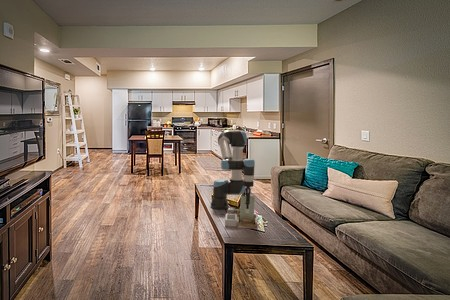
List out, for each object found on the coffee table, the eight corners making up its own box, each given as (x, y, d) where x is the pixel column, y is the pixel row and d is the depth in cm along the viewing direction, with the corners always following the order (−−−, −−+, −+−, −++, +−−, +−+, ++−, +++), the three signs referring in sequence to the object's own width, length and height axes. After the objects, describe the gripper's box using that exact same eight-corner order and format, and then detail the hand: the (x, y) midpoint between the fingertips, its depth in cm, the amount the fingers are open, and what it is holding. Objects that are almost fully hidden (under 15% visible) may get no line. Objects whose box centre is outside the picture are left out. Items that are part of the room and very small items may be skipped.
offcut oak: (242, 219, 239) (242, 217, 239) (251, 219, 239) (251, 217, 239) (242, 221, 235) (243, 219, 235) (251, 221, 236) (251, 219, 235)
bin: (225, 220, 249) (225, 213, 248) (236, 220, 248) (237, 214, 248) (224, 226, 235) (225, 219, 234) (236, 227, 234) (236, 220, 234)
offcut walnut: (239, 222, 239) (240, 219, 239) (252, 222, 240) (252, 219, 240) (240, 224, 235) (240, 221, 235) (253, 224, 236) (253, 221, 236)
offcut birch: (239, 225, 240) (239, 222, 239) (253, 226, 240) (253, 222, 239) (239, 227, 236) (239, 223, 236) (253, 227, 236) (254, 224, 235)
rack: (236, 221, 247) (237, 213, 247) (255, 222, 247) (256, 214, 246) (236, 227, 233) (237, 219, 233) (256, 228, 233) (257, 220, 232)
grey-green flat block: (239, 222, 245) (240, 195, 243) (253, 222, 245) (254, 196, 243) (239, 223, 242) (240, 196, 240) (253, 224, 242) (254, 197, 240)
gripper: (243, 177, 252) (241, 206, 254) (243, 183, 229) (241, 215, 231) (253, 177, 251) (251, 206, 254) (254, 184, 228) (252, 215, 231)
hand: (247, 210), depth 242 cm, fingers open, 10 cm apart
